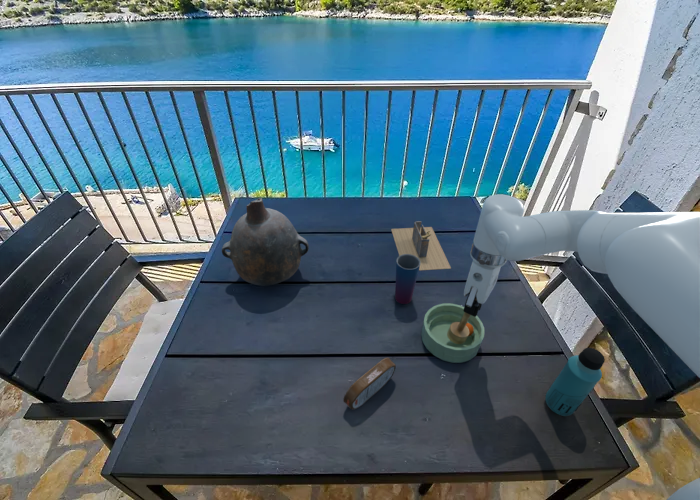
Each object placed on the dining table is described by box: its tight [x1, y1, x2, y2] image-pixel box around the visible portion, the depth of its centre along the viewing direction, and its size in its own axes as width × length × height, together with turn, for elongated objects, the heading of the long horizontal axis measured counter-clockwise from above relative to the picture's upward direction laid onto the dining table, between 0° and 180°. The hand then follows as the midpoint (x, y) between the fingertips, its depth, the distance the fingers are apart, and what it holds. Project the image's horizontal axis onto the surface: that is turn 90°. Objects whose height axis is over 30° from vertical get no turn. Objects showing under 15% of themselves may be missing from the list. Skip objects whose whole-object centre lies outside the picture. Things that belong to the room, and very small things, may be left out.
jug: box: [221, 197, 310, 286], centre depth 107 cm, size 24×21×30 cm
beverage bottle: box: [545, 347, 606, 417], centre depth 75 cm, size 6×7×20 cm
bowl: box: [420, 302, 485, 364], centre depth 94 cm, size 16×16×6 cm
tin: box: [343, 357, 397, 411], centre depth 81 cm, size 15×3×8 cm, turn 131°
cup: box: [394, 254, 420, 305], centre depth 104 cm, size 7×7×15 cm
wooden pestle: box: [447, 298, 477, 344], centre depth 87 cm, size 5×5×16 cm
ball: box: [466, 323, 474, 336], centre depth 95 cm, size 4×4×4 cm
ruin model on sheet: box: [390, 220, 452, 271], centre depth 125 cm, size 25×16×10 cm, turn 5°
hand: (471, 310), depth 85 cm, fingers closed on wooden pestle
